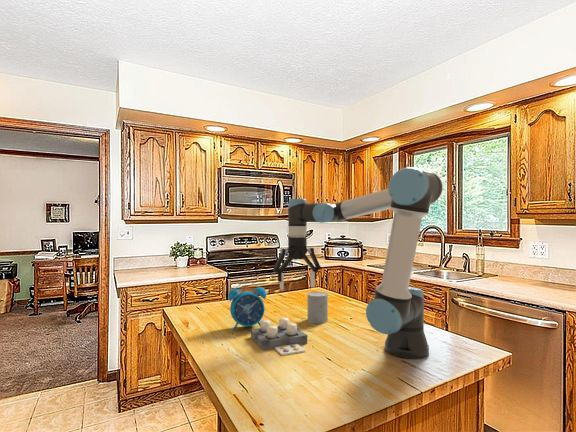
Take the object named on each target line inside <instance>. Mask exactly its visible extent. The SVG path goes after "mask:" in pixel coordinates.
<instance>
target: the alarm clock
mask: <svg viewBox="0 0 576 432" xmlns="http://www.w3.org/2000/svg"><path fill="white" fill-rule="evenodd" d="M244 283H251V284H252V285H253V286H255V288H254V289H253V292H252V291H243V292H242V290H241V289H239V287H240V286H241V285H242V284H244ZM265 288H266V287H264V286H263V287H262V286H259V285H256V283H254V282H252V281H250V280H244V281H242V282H241V283H239V284H238V285H237V286H236V287H233V288H232V289H231V288H230V289H229V292H228V296H227V297H228V298H227V299H228V301H230V302H231V303H230V308H229V310H230V311H229V312H230V315H231V318H232V319H233V320H234V322H235V325H234V326H233V328H232V331H233V332H235V330H236V329H237V327H238V325H241V326H242V327H252V326H255V325H257V324H258V326H259V327H260V321H261V320H263V318H264V315H265V303H264V301H263V300H262V299H264V300H265V299H266V298H267V291H266V289H265Z"/></svg>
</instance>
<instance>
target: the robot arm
mask: <svg viewBox="0 0 576 432" xmlns="http://www.w3.org/2000/svg"><path fill="white" fill-rule="evenodd" d="M443 187H444V186H443V182H442V179H441V178H440V177H439V176H438V175H437V174H436V173H434V172H432V171H429V170H425V169H423V168H420V167H411V166H410V167H409V166H408V167H403V168H402V169H399V170H398V171H395V173H393V175H392V176H391V177H390V180H389V182H388V187H387V188H385V189H382V190H378V191H375V192H372V193H368V194H363V195H361V196H358V197H353V198H351V199H347V200H343V201H340V202H336V203H328V202H317V203H311V202H310V203H308V201H307V199H306V198H290V199H289V200H288V205H287V206H288V207H287V213H288V214H287V217H288V226H287V227H288V229H287V230H288V231H287V232H288V234H287V236H288V239H287V241H288V243H287V245H288V247H287V249H286V248H281V249H280V253H279V256H278V258H277V259H276V263H274V264H275V265H274V267H273V269H272V271H273V272H274V273H277V282H278V283H279V289H280V290H281V291H285V289H284V288H285V287H284V286H285V285H284V284H285V283H284V282H285V281H284V279H285V275H284V273H283V272H284V271H285V270H286V269H287V267H288V266H289V264H290V263H291V262H292V261H293V260H294V261H296V260H303V261H305V263H306V264H307V265H308V267H310V269H311V270H310V282H309V283H310V284H309V285H310V287H311V288H314V289H315V287H316V280H317V276H318V275H317V272H318V271H321V270H322V267H321V264H320V263H319V261H318V259H317V256H316V254H315V248H314V247H309V248H308V247H307V245H308V244H307V243H308V242H307V239H308V238H307V235H308V233H307V232H308V231H307V226H308V225H307V223H319V224H324V223H325V224H326V223H342V222H344V221H346V220H349V219H353V218H357V217H361V216H362V217H363V216H366V215H371V214H374V213H379V212H384V211H387V210H391V211H392V212H393V219H392V224H391V228H390V229H391V231H390V235H389V240H388V246H387V249H386V250H387V251H386V256H385V262H384V267H383V272H382V276H381V277H382V278H381V283H379V284H378V285H377V286H376V287H375V290H374V294H373V295H374V296H373V299H372V300H370V301H369V303H368V304H367V305H366V307H365V308H366V309H365V316H366V319H367V322H369V325H370V327H371V328H372V329H374V330H375V331H376V332H378V333H379V334H382V335H386V339H385V341H384V350H385V351H386V352H388V353H389V354H390V355H393V356H396V357H398V358H399V357H400V358H403V359H410V360H411V359H413V360H414V359H415V360H416V359H422V358H423V359H424V358H426V357H428V355H430V347H429V344H428V341H427V336H426V334H425V331H424V329H425V328H424V327H425V326H424V325H425V323H424V322H425V321H424V319H425V318H424V317H425V316H424V314H425V310H424V309H425V307H424V306H425V296H424V291H423V290H422V289H421V288H417V287H413V286H410V281H411V276H412V271H413V265H414V261H415V255H416V250H417V247H418V241H419V235H420V231H421V230H420V229H421V224H422V221H423V220H422V219H423V218H425V216H427V215H428V214H429V212H430V211H429V210H430V206H431V205H432V204H433V203H435V202H437V201H438V199H440V198H441V196H442V193H443ZM307 253H308V254H309V257H310V258H311V260H312V261H311V260H310V259H309V257H308V256H307ZM287 254H288V256H287V257H286V259H284V258H285V256H286V255H287ZM283 260H284V261H283Z"/></svg>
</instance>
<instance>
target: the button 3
mask: <svg viewBox="0 0 576 432" xmlns="http://www.w3.org/2000/svg"><path fill="white" fill-rule="evenodd" d="M288 323H290V318H289V317H280V318H279V319H278V326H279V328H280V329H287V324H288Z"/></svg>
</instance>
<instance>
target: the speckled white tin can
mask: <svg viewBox="0 0 576 432" xmlns="http://www.w3.org/2000/svg"><path fill="white" fill-rule="evenodd" d="M306 295H307V322H309V323H311V324H325V323H328V321H329V320H328V318H329V317H328V316H329V313H328V312H329V309H328V308H329V303H328V302H329V299H328V295H329V294H328V293H327V292H323V291H311V292H307V294H306Z"/></svg>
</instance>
